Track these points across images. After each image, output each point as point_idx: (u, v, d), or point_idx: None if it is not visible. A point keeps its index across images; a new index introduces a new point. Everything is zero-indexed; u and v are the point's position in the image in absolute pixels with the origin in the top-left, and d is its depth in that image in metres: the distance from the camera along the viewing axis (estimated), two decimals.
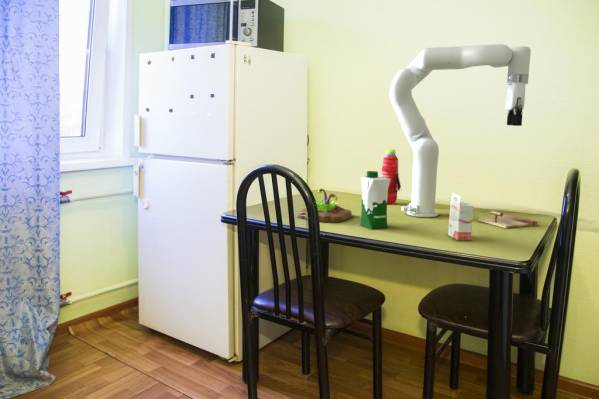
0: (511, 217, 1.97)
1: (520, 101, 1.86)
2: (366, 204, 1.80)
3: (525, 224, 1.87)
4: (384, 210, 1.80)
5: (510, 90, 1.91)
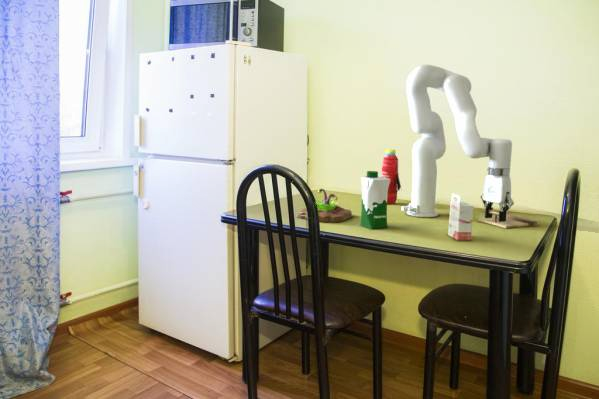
0: (511, 217, 1.97)
1: (511, 199, 1.83)
2: (366, 204, 1.80)
3: (525, 224, 1.87)
4: (384, 210, 1.80)
5: (496, 183, 1.85)
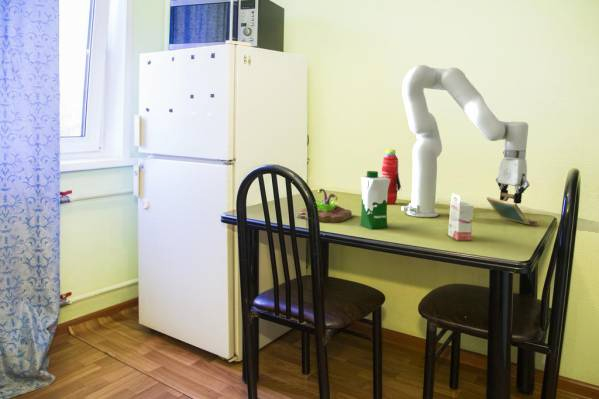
0: None
1: (526, 181, 1.84)
2: (366, 204, 1.80)
3: (527, 220, 1.87)
4: (384, 210, 1.80)
5: (512, 165, 1.87)
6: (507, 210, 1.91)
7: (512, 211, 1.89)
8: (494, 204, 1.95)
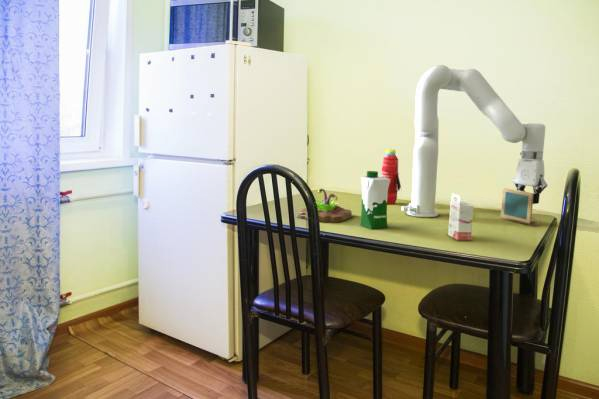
0: None
1: (544, 182, 1.88)
2: (366, 204, 1.80)
3: (530, 218, 1.88)
4: (384, 210, 1.80)
5: (530, 166, 1.90)
6: (518, 202, 1.92)
7: (522, 204, 1.91)
8: (507, 195, 1.97)
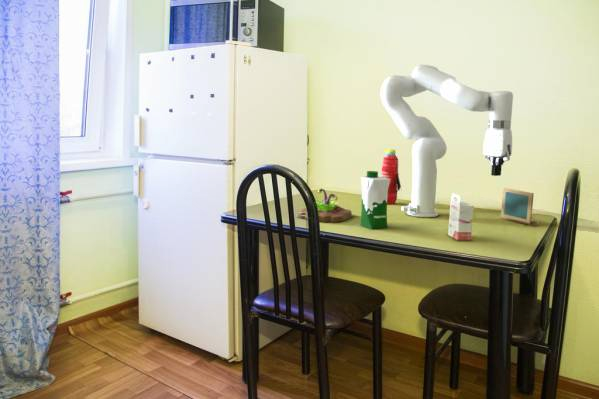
0: None
1: (508, 155, 1.81)
2: (366, 204, 1.80)
3: (531, 217, 1.88)
4: (384, 210, 1.80)
5: (497, 136, 1.81)
6: (518, 202, 1.92)
7: (522, 204, 1.91)
8: (507, 195, 1.97)
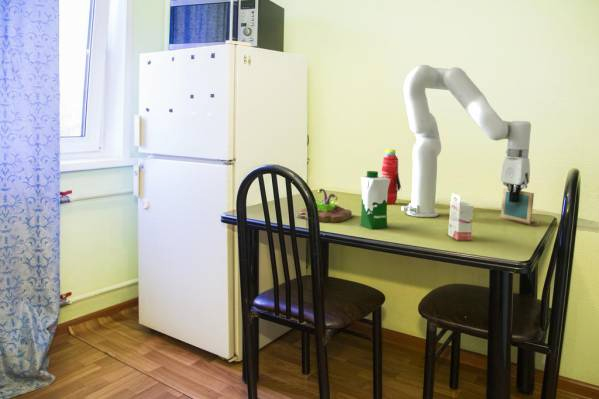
0: None
1: (525, 183, 1.87)
2: (366, 204, 1.80)
3: (531, 217, 1.88)
4: (384, 210, 1.80)
5: (515, 165, 1.87)
6: (518, 202, 1.92)
7: (522, 204, 1.91)
8: (507, 195, 1.97)
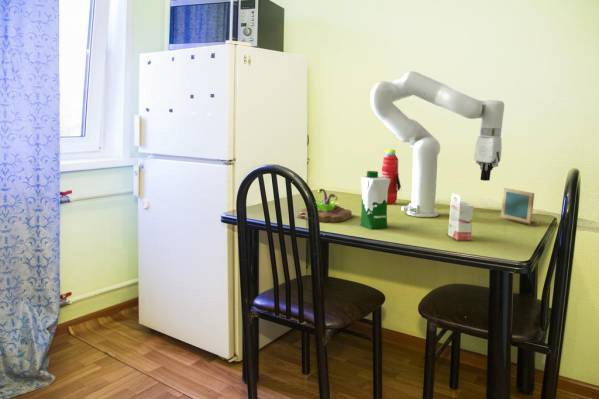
0: None
1: (496, 162, 1.91)
2: (366, 204, 1.80)
3: (531, 218, 1.88)
4: (384, 210, 1.80)
5: (487, 143, 1.91)
6: (518, 202, 1.92)
7: (522, 204, 1.91)
8: (507, 195, 1.97)
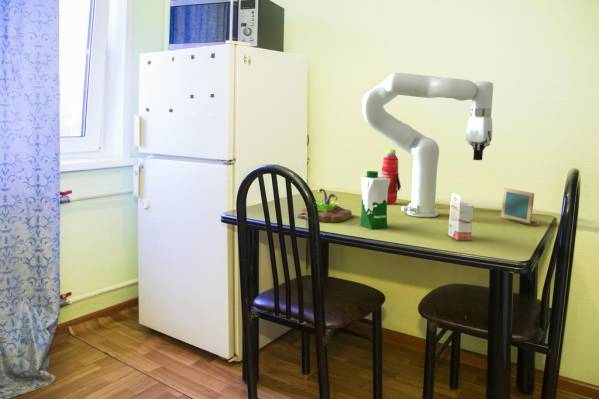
0: None
1: (488, 141, 1.96)
2: (366, 204, 1.80)
3: (531, 218, 1.88)
4: (384, 210, 1.80)
5: (478, 123, 1.96)
6: (518, 202, 1.92)
7: (522, 204, 1.91)
8: (507, 195, 1.97)
